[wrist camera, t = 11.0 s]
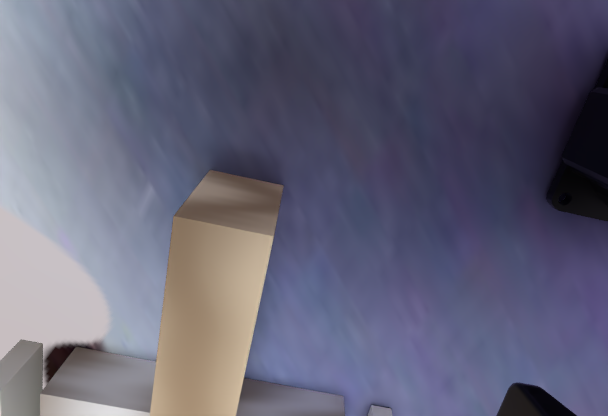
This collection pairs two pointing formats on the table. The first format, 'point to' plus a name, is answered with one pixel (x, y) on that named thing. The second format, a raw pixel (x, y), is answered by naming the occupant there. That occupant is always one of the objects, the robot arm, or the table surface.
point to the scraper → (197, 323)
